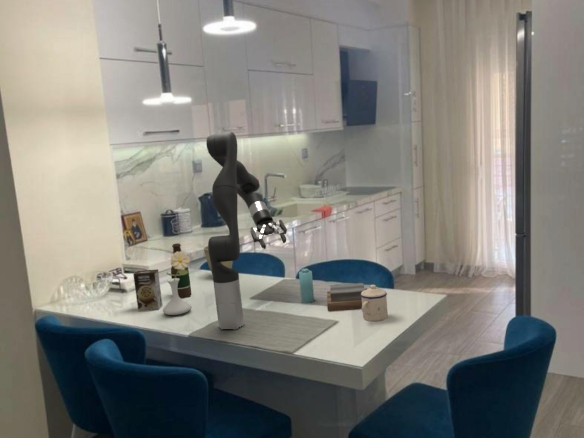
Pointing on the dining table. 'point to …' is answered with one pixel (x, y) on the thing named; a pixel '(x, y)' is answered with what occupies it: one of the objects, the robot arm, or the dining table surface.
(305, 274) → the teal bottle
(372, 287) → the teacup with lid
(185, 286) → the beer bottle
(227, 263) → the plant pot
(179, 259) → the flower in vase
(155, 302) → the coffee box
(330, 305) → the tower base
